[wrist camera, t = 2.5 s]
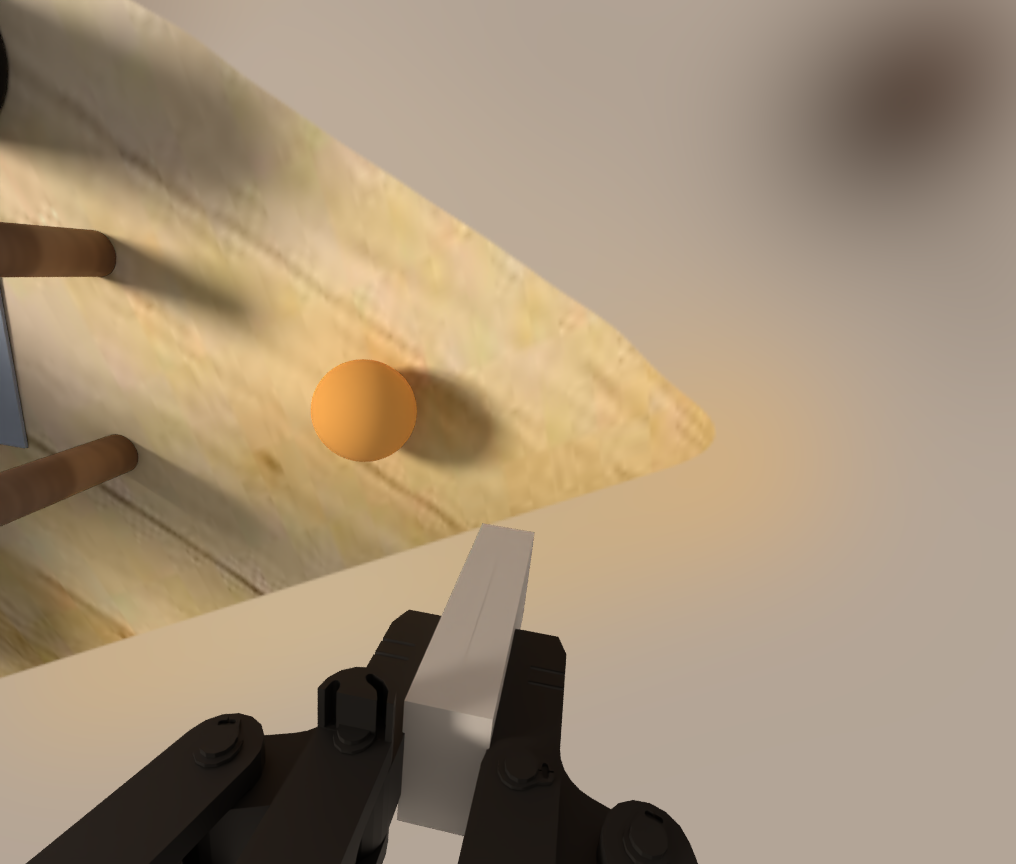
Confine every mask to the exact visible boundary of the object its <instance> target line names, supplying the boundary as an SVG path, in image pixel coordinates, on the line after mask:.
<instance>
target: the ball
mask: <svg viewBox="0 0 1016 864" xmlns="http://www.w3.org/2000/svg"><path fill="white" fill-rule="evenodd" d="M416 416H417V407H416V400H415V396H414V394H413V391H412V389H411V387H410V385H409V384H408V382H407V381H406V379H405V378H404V377H403V376H402V375H401V374H400V373H399V372H397V371H396V370H395V369H393V368H392V367H390V366H388V365H386V364H384V363H381V362H378V361H374V360H364V359H361V360H353V361H349V362H345V363H343V364H340V365H339V366H337V367H335V368H333V369H332V370H331V371H329V372H328V373H327V374H326V375H325V376H324V377H323V378H322V379H321V381H320V382H319V384H318V386H317V388H316V389H315V391H314V394H313V397H312V402H311V418H312V423H313V426H314V429H315V431H316V433H317V435H318V436H319V438H320V439H321V441H322V442H323V443H324V444H325V445H326V446H327V447H328V448H329V449H330V450H331V451H333V452H334V453H336V454H337V455H339V456H341V457H343V458H346V459H349V460H353V461H360V462H366V461H376V460H379V459H382V458H385V457H387V456H390V455H391V454H393V453H394V452H396V451H397V450H399V449H400V448H401V447H402V446H403V445H404V443H405V442H406V441H407V440H408V438H409V437H410V435H411V433H412V431H413V429H414V426H415V422H416Z"/></svg>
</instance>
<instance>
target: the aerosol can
mask: <svg viewBox="0 0 1016 864" xmlns="http://www.w3.org/2000/svg"><path fill="white" fill-rule="evenodd" d="M7 75H8V73H7V61H6V55H5V50H4V46H3V42H2V39H1V36H0V108H1V106H2V104H3V101H4V97H5V93H6V88H7Z"/></svg>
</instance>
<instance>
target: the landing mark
mask: <svg viewBox="0 0 1016 864" xmlns="http://www.w3.org/2000/svg"><path fill="white" fill-rule="evenodd" d="M0 444H3V445H9V446H15V447H20V448H28V443H27V438H26V432H25V426H24V421H23V415H22V409H21V404H20V398H19V392H18V387H17V381H16V376H15V370H14V364H13V359H12V353H11V347H10V342H9V336H8V330H7V325H6V319H5V313H4V308H3V302H2V296H1V291H0Z"/></svg>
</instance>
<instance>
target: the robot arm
mask: <svg viewBox="0 0 1016 864" xmlns="http://www.w3.org/2000/svg"><path fill="white" fill-rule="evenodd" d="M533 540H534V532H530V531H524V530H518V529H512V528H506V527H501V526H494V525H489V524H483V523H482V525H481V528H480V530H479V532H478V534H477V537H476V539H475V541H474V544H473V546H472V548H471V550H470V553H469V555H468V557H467V559H466V562H465V564H464V566H463V569H462V571H461V573H460V575H459V578H458V580H457V582H456V585H455V587H454V589H453V591H452V593H451V596H450V598H449V600H448V603H447V605H446V607H445V609H444V612H443V614H442V616H439V615H434V614H429V613H424V612H419V611H413V610H408V611H406V612H405V613H404V614H402V615H401V616H400V617H399V618H397V619H396V620H394V621H393V622H392V624H391V625H390V627H389V629H388V631H387V632H386V634H385V636H384V637H383V641H381V643H380V644H379V646H378V648H377V650H376V652H375V655H373V657H372V658H371V660H370V662H369V664H368V665H367V667H354V668H350V669H345V670H341V671H339V672H337V673H335V674H334V675H332V676H330V677H328V678H327V679H326V680H325V681H324V682H323V683H322V684H321V685H320V686H319V687H318V727H316V728H314V729H311V730H308V731H303V732H297V733H288V734H275V735H264V733H263V729H262V726H261V724H260V723H259V722H257V720H255V719H254V718H253V717H251V716H248V715H244V714H240V713H236V714H223V715H220V716H217V717H214V718H211V719H208V720H205V721H204V722H202V723H200V724H199V725H197V726H196V727H194V728H193V729H191V730H190V731H188V732H187V733H186V734H184V735H183V736H182V737H181V738H180V739H179V740H177V741H176V742H175V743H173V744H172V745H171V746H170V747H168V748H167V749H166V750H165V751H164V752H162V753H161V754H160V755H159V756H157V757H156V758H155V759H154V760H153V761H151V762H150V763H149V764H148V765H146V766H145V767H144V768H143V769H142V770H140V771H139V772H138V773H137V774H136V775H134V776H133V777H132V778H130V779H129V780H128V781H127V782H126V783H124V784H123V785H122V786H121V787H119V788H118V789H117V790H116V791H114V792H113V793H112V794H111V795H110V796H108V797H107V798H106V799H105V800H103V801H102V802H101V803H100V804H99V805H97V806H96V807H95V808H94V809H92V810H91V811H90V812H89V813H87V814H86V815H85V816H84V817H83V818H82V819H80V820H79V821H78V822H77V823H75V824H74V825H73V826H72V827H70V828H69V829H68V830H67V831H65V832H64V833H63V834H62V835H61V836H59V837H58V838H57V839H56V840H54V841H53V842H52V843H51V844H49V845H48V846H47V847H46V848H45V849H43V850H42V851H41V852H40V853H38V854H37V855H36V856H35V857H33V858H32V859H31V860H30V861H29V862H27V863H26V864H382V863H383V860H384V858H385V855H386V849H387V843H388V833H389V826H390V823H391V820H392V818H393V815H394V812H395V809H396V807H397V804H398V813H397V820H399V821H403V822H407V823H411V824H416V825H420V826H424V827H428V828H432V829H436V830H441V831H445V832H449V833H453V834H458V835H462V836H464V839H463V843H462V848H461V852H460V856H459V861H458V864H698V863H697V860H696V857H695V855H694V852H693V850H692V848H691V845H690V843H689V841H688V839H687V837H686V836H685V834H684V832H683V830H682V829H681V827H680V825H678V824H677V823H676V822H675V821H674V820H673V819H672V818H671V817H670V816H669V815H668V814H667V813H666V812H665V811H663V810H661V809H659V808H658V807H656V806H654V805H652V804H650V803H646V802H641V801H635V800H631V801H626V802H622V803H618V804H617V805H616V806H615V807H613V808H612V809H610V808H608V807H606V806H604V805H602V804H601V803H599V802H597V801H596V800H594V799H592V798H590V797H589V796H587V795H586V794H585V793H583V792H582V791H581V790H579V788H578V787H577V786H576V785H575V784H574V783H573V782H572V781H571V780H570V778H569V777H568V775H567V774H566V772H565V770H564V767H563V764H562V761H561V757H560V741H561V726H562V725H561V724H562V711H563V695H564V680H565V666H566V652H565V650H564V648H563V646H562V644H561V642H560V640H559V637H556V636H551V635H546V634H540V633H535V632H530V631H525V630H520V627H521V622H522V617H523V612H524V604H525V597H526V590H527V583H528V575H529V568H530V561H531V554H532V547H533Z"/></svg>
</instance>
